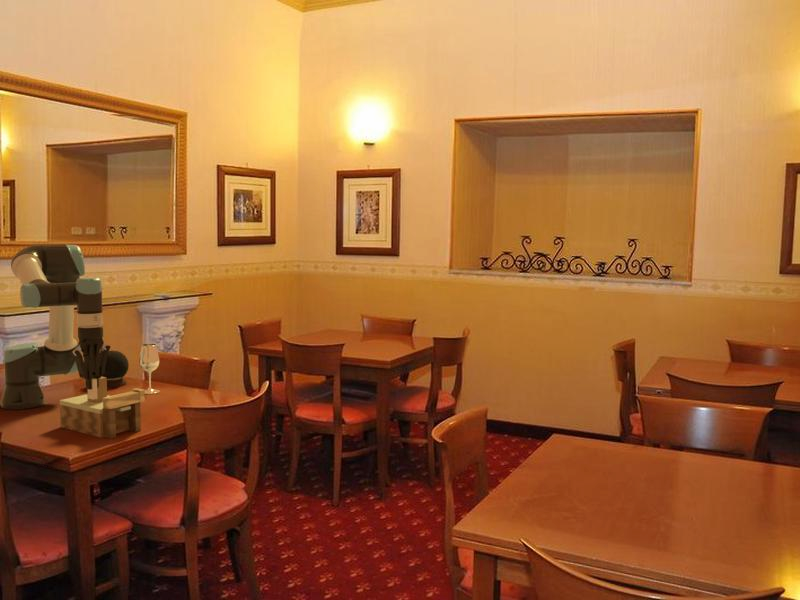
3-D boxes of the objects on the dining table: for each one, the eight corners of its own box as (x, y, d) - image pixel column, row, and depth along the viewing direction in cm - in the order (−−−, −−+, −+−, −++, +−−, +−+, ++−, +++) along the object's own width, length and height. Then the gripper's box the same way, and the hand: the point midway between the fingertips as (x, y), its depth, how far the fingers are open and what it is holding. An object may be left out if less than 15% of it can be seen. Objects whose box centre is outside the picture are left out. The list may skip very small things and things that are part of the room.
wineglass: (163, 392, 314) (162, 344, 312) (146, 395, 309) (145, 347, 306) (153, 389, 320) (152, 342, 317) (136, 392, 314) (135, 344, 312)
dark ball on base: (132, 381, 334) (132, 348, 332) (124, 388, 321) (123, 353, 319) (102, 381, 333) (101, 348, 331) (92, 388, 320) (91, 353, 318)
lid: (59, 405, 260) (58, 377, 259) (95, 397, 272) (94, 370, 271) (107, 417, 247) (107, 387, 246) (143, 408, 258) (142, 379, 257)
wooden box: (60, 427, 261) (59, 399, 260) (96, 418, 273) (95, 391, 272) (108, 439, 248) (107, 410, 247) (143, 429, 259) (142, 401, 258)
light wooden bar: (102, 407, 249) (102, 395, 249) (137, 399, 261) (136, 388, 261) (110, 409, 247) (110, 397, 247) (144, 401, 259) (144, 389, 258)
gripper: (79, 329, 234) (82, 404, 236) (115, 324, 245) (117, 396, 247) (64, 327, 238) (67, 401, 240) (100, 323, 249) (103, 393, 251)
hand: (92, 398), depth 243 cm, fingers closed
